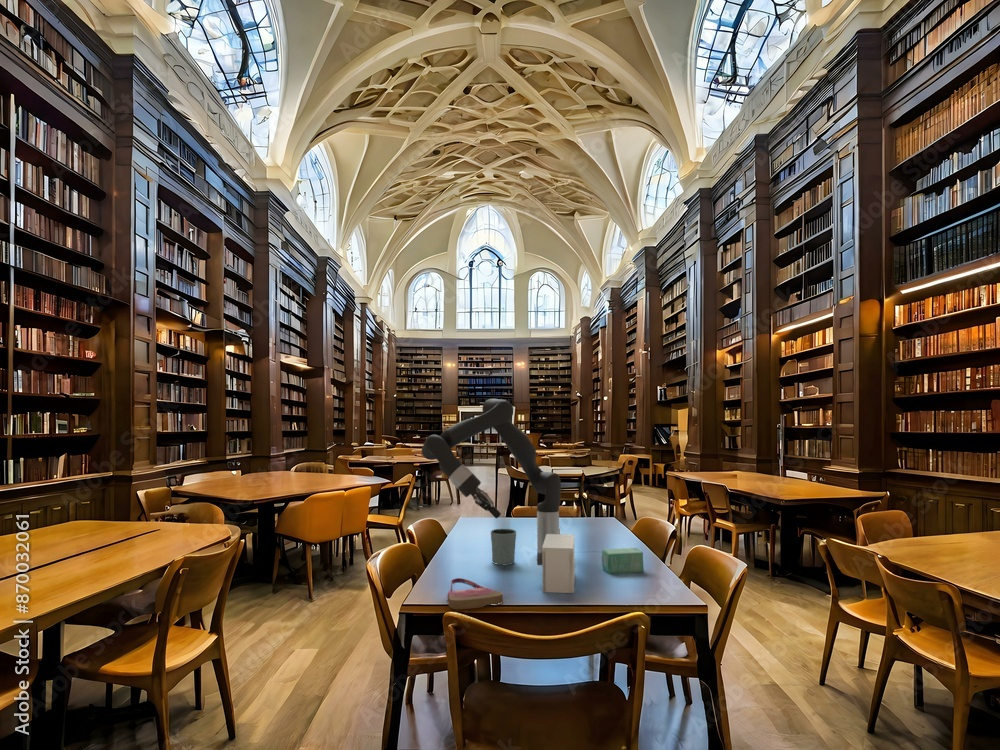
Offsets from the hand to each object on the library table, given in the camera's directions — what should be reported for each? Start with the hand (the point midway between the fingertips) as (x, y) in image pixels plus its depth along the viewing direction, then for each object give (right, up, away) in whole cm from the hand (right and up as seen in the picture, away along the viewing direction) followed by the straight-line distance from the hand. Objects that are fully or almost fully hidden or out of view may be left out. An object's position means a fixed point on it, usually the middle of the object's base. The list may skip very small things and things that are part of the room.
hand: (498, 516), depth 194 cm
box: (+45, -23, +10) cm, 52 cm away
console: (+21, -21, -5) cm, 30 cm away
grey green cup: (+2, -24, +23) cm, 33 cm away
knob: (+17, -16, -4) cm, 24 cm away
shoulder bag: (-10, -21, -16) cm, 29 cm away
